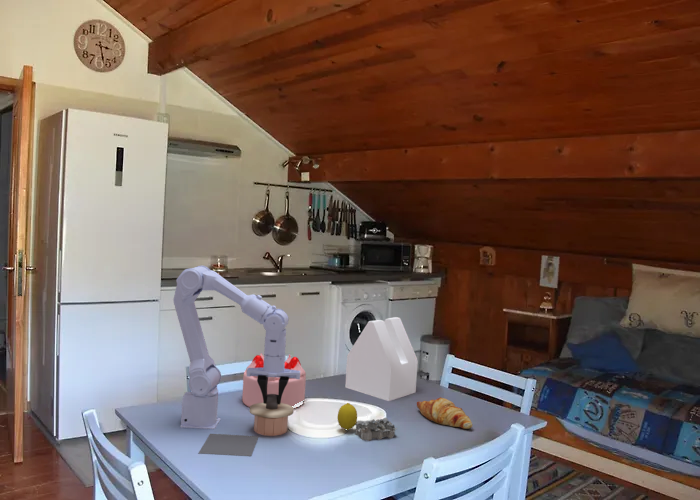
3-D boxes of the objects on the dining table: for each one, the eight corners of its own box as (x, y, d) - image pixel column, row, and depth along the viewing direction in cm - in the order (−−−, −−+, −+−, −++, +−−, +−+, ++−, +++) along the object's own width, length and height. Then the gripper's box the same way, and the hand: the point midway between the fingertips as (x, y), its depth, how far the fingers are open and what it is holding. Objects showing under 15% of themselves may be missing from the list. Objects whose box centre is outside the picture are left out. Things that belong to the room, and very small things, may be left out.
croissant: (476, 440, 177) (485, 415, 179) (459, 431, 170) (469, 404, 172) (421, 418, 192) (430, 394, 194) (403, 409, 185) (413, 384, 187)
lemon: (354, 435, 165) (356, 407, 165) (334, 433, 166) (336, 404, 166) (358, 428, 171) (359, 401, 170) (339, 426, 172) (340, 398, 171)
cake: (257, 389, 202) (260, 347, 201) (313, 397, 197) (316, 354, 196) (231, 406, 184) (233, 360, 183) (292, 416, 178) (294, 369, 177)
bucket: (251, 435, 161) (252, 417, 160) (256, 423, 170) (257, 406, 169) (285, 437, 161) (286, 419, 161) (288, 425, 170) (289, 408, 170)
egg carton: (362, 442, 162) (363, 427, 161) (352, 432, 169) (352, 418, 168) (398, 439, 166) (398, 424, 165) (386, 429, 173) (387, 415, 172)
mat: (198, 454, 147) (198, 453, 147) (210, 435, 160) (210, 433, 160) (251, 457, 147) (251, 456, 147) (258, 437, 160) (258, 436, 160)
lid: (245, 415, 159) (246, 399, 159) (254, 404, 171) (255, 388, 171) (289, 419, 158) (290, 402, 158) (296, 407, 170) (297, 391, 170)
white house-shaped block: (345, 387, 210) (349, 317, 209) (372, 380, 222) (376, 313, 220) (388, 401, 198) (393, 326, 196) (415, 392, 209) (420, 322, 208)
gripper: (245, 356, 160) (243, 406, 161) (300, 359, 160) (297, 409, 161) (249, 350, 167) (247, 398, 168) (301, 353, 167) (299, 400, 168)
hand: (272, 402), depth 165 cm, fingers closed on lid, 3 cm apart
